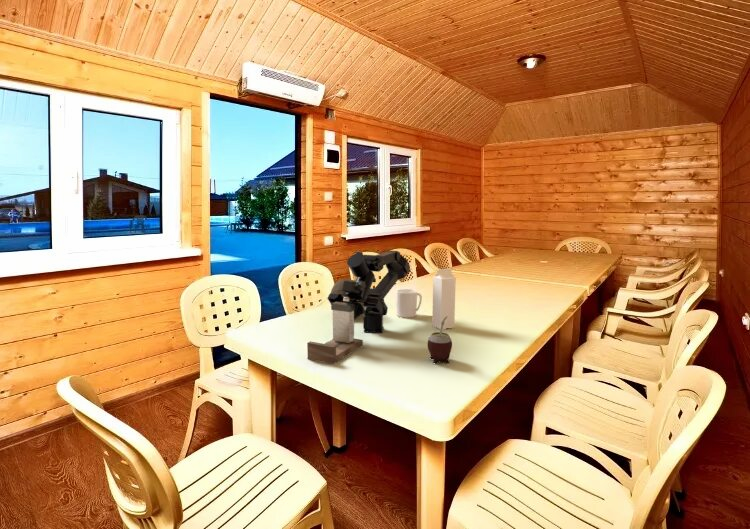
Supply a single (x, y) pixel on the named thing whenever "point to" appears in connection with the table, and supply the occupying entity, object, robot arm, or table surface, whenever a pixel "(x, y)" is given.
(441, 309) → the milk
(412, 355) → the table surface
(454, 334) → the table surface
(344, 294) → the dark rounded lump
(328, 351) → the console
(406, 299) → the mug
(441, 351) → the mate gourd
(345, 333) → the fader tab
